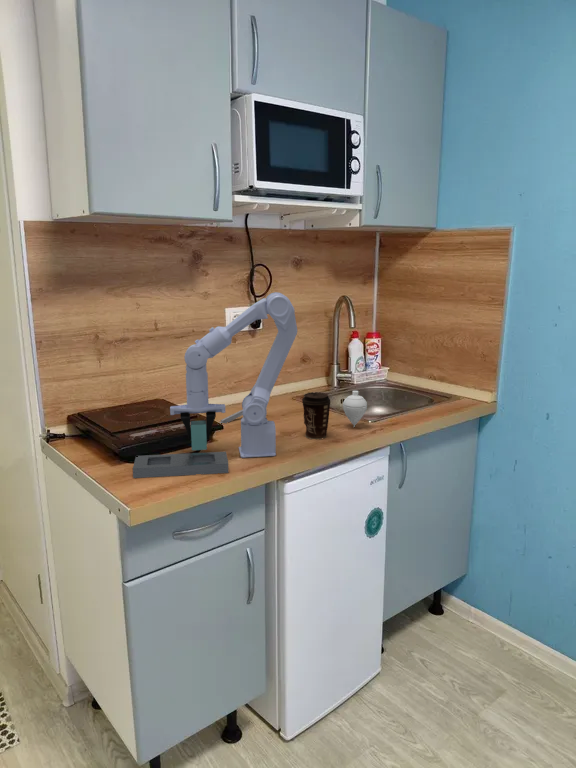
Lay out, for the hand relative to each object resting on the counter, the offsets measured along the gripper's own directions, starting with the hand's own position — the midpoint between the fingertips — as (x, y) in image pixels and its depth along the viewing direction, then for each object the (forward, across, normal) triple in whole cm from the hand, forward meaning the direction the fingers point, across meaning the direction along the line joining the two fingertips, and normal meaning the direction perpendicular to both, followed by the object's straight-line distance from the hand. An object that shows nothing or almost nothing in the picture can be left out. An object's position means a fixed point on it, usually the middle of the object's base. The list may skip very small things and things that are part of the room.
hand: (198, 438), depth 153 cm
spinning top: (+5, -49, -18) cm, 52 cm away
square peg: (+2, 0, 0) cm, 2 cm away
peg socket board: (+4, +5, +10) cm, 12 cm away
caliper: (+5, -15, -34) cm, 37 cm away
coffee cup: (+5, -35, -11) cm, 37 cm away
